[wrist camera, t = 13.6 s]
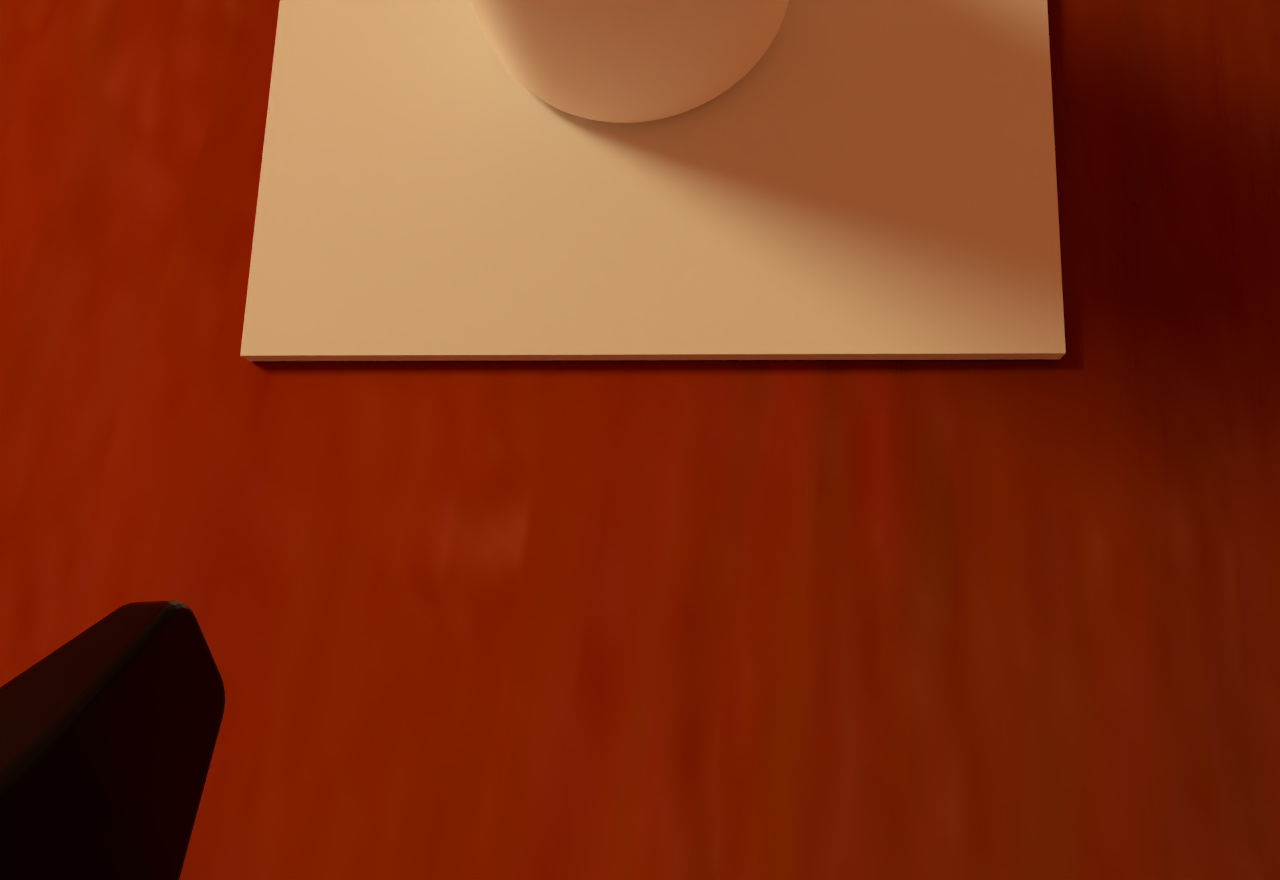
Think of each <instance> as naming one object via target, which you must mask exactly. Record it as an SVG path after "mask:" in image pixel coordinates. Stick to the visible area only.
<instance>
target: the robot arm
mask: <svg viewBox="0 0 1280 880" xmlns="http://www.w3.org/2000/svg"><path fill="white" fill-rule="evenodd" d="M224 705H225V691H224V686H223V681H222V678H221V675H220V673H219V671H218V668H217V666H216V664H215V661H214V659H213V657H212V654H211V652H210V650H209V647H208V645H207V643H206V640H205V638H204V636H203V633H202V631H201V629H200V626H199V624H198V622H197V619H196V617H195V615H194V614H193V612H192V610H191V609H190V608H189V607H188V606H187V605H185V604H184V603H181V602H178V601H154V602H135V603H129V604H126V605H123V606H122V607H120V608H118V609H117V610H115V611H114V612H112V613H111V614H109V615H108V616H106V617H105V618H103V619H102V620H100V621H99V622H97V623H96V624H94V625H93V626H91V627H90V628H88V629H87V630H85V631H84V632H82V633H81V634H79V635H78V636H76V637H75V638H74V639H72V640H71V641H69V642H68V643H66V644H65V645H63V646H62V647H60V648H59V649H57V650H56V651H54V652H53V653H51V654H50V655H48V656H47V657H45V658H44V659H42V660H41V661H39V662H38V663H36V664H35V665H33V666H32V667H30V668H29V669H27V670H26V671H24V672H23V673H21V674H20V675H18V676H17V677H15V678H14V679H12V680H11V681H9V682H8V683H6V684H5V685H3V686H2V687H1V688H0V880H179V878H180V874H181V871H182V867H183V863H184V860H185V856H186V852H187V848H188V845H189V841H190V837H191V833H192V830H193V826H194V822H195V818H196V815H197V811H198V807H199V803H200V800H201V796H202V792H203V789H204V785H205V781H206V777H207V774H208V770H209V766H210V762H211V759H212V755H213V751H214V747H215V744H216V740H217V736H218V733H219V729H220V725H221V721H222V718H223V713H224Z"/></svg>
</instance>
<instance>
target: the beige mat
mask: <svg viewBox="0 0 1280 880" xmlns="http://www.w3.org/2000/svg"><path fill="white" fill-rule="evenodd" d="M1065 353H1066V349H1065V330H1064V311H1063V293H1062V274H1061V255H1060V236H1059V217H1058V198H1057V179H1056V160H1055V141H1054V122H1053V103H1052V84H1051V65H1050V46H1049V27H1048V8H1047V0H789V2H788V6H787V10H786V13H785V16H784V18H783V21H782V23H781V26H780V28H779V30H778V32H777V34H776V36H775V38H774V39H773V41H772V43H771V44H770V46H769V48H768V49H767V50H766V52H765V53H764V55H763V56H762V57H761V58H760V60H759V61H758V62H757V63H756V64H755V66H754V67H753V68H752V69H751V70H750V71H749V72H748V73H747V74H746V75H745V76H744V77H743V78H741V79H740V80H739V81H738V82H737V83H735V84H734V85H733V86H732V87H730V88H729V89H728V90H726V91H725V92H723V93H722V94H720V95H719V96H717V97H715V98H714V99H712V100H710V101H708V102H706V103H705V104H703V105H700V106H698V107H696V108H694V109H691V110H689V111H686V112H684V113H681V114H678V115H674V116H671V117H667V118H663V119H658V120H653V121H645V122H634V123H614V122H603V121H596V120H591V119H587V118H582V117H579V116H575V115H572V114H569V113H567V112H564V111H562V110H559V109H557V108H555V107H553V106H551V105H549V104H547V103H546V102H544V101H542V100H541V99H539V98H538V97H536V96H535V95H533V94H532V93H530V92H529V91H528V90H527V89H526V88H524V87H523V86H522V85H521V84H520V83H519V82H518V81H517V80H516V79H515V78H514V77H513V76H512V75H511V74H510V72H509V71H508V70H507V69H506V67H505V66H504V65H503V63H502V62H501V60H500V58H499V57H498V55H497V54H496V52H495V50H494V48H493V47H492V45H491V43H490V40H489V38H488V36H487V34H486V32H485V30H484V28H483V26H482V24H481V22H480V19H479V17H478V15H477V13H476V11H475V9H474V6H473V4H472V2H471V0H280V5H279V14H278V23H277V32H276V41H275V50H274V58H273V67H272V76H271V85H270V94H269V103H268V112H267V121H266V130H265V139H264V148H263V157H262V166H261V175H260V184H259V193H258V202H257V211H256V220H255V229H254V237H253V246H252V255H251V264H250V273H249V282H248V291H247V300H246V309H245V318H244V327H243V336H242V345H241V354H240V356H242V357H243V358H245V359H247V360H248V361H549V360H989V359H1061V358H1062V357H1063V356H1064V354H1065Z"/></svg>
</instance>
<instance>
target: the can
mask: <svg viewBox="0 0 1280 880" xmlns="http://www.w3.org/2000/svg"><path fill="white" fill-rule="evenodd" d="M471 2H472V4H473V6H474V9H475V11H476V13H477V15H478V17H479V19H480V22H481V24H482V26H483V28H484V30H485V32H486V34H487V36H488V38H489V40H490V43H491V45H492V47H493V48H494V50H495V52H496V54H497V55H498V57H499V58H500V60H501V62H502V63H503V65H504V66H505V67H506V69H507V70H508V71H509V72H510V74H511V75H512V76H513V77H514V78H515V79H516V80H517V81H518V82H519V83H520V84H521V85H522V86H523V87H524V88H526V89H527V90H528V91H529V92H530V93H532V94H533V95H535V96H536V97H538V98H539V99H541V100H542V101H544V102H546V103H547V104H549V105H551V106H553V107H555V108H557V109H559V110H562V111H564V112H567V113H569V114H572V115H575V116H579V117H582V118H587V119H591V120H596V121H603V122H614V123H634V122H645V121H653V120H658V119H663V118H667V117H671V116H674V115H678V114H681V113H684V112H686V111H689V110H691V109H694V108H696V107H698V106H700V105H703V104H705V103H706V102H708V101H710V100H712V99H714V98H715V97H717V96H719V95H720V94H722V93H723V92H725V91H726V90H728V89H729V88H730V87H732V86H733V85H734V84H735V83H737V82H738V81H739V80H740V79H741V78H743V77H744V76H745V75H746V74H747V73H748V72H749V71H750V70H751V69H752V68H753V67H754V66H755V64H756V63H757V62H758V61H759V60H760V58H761V57H762V56H763V55H764V53H765V52H766V50H767V49H768V48H769V46H770V44H771V43H772V41H773V39H774V38H775V36H776V34H777V32H778V30H779V28H780V26H781V23H782V21H783V18H784V16H785V13H786V10H787V6H788V2H789V0H471Z"/></svg>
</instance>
